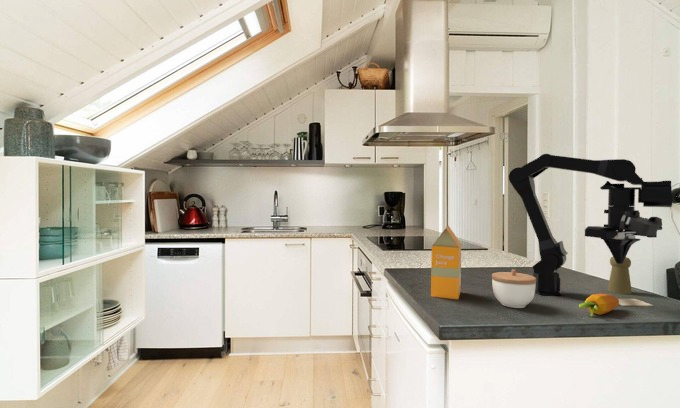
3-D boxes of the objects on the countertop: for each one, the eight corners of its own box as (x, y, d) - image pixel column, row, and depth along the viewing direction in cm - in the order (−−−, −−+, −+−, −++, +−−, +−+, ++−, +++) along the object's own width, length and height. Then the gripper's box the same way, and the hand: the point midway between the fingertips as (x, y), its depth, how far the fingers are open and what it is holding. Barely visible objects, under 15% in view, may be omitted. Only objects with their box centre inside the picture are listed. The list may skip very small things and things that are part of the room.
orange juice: (430, 296, 106) (431, 227, 105) (434, 289, 114) (435, 225, 114) (458, 299, 103) (460, 228, 102) (461, 292, 111) (462, 226, 111)
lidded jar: (483, 300, 103) (483, 266, 102) (517, 298, 105) (518, 265, 104) (507, 311, 92) (508, 274, 92) (545, 309, 94) (546, 273, 94)
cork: (623, 289, 116) (624, 255, 116) (636, 294, 110) (637, 258, 110) (603, 289, 117) (603, 254, 117) (615, 294, 111) (616, 257, 111)
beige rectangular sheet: (623, 305, 98) (623, 304, 98) (606, 299, 104) (606, 298, 104) (652, 306, 98) (652, 305, 98) (634, 299, 104) (634, 298, 104)
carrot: (631, 298, 93) (600, 304, 86) (622, 314, 95) (591, 321, 88) (611, 286, 97) (580, 292, 90) (602, 302, 99) (571, 308, 92)
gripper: (624, 207, 90) (623, 270, 90) (680, 207, 95) (678, 267, 95) (583, 205, 100) (582, 262, 101) (635, 206, 105) (633, 260, 106)
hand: (619, 263), depth 100 cm, fingers closed
